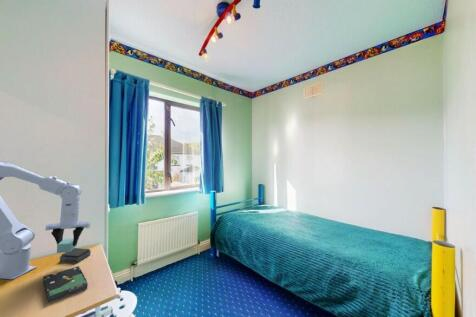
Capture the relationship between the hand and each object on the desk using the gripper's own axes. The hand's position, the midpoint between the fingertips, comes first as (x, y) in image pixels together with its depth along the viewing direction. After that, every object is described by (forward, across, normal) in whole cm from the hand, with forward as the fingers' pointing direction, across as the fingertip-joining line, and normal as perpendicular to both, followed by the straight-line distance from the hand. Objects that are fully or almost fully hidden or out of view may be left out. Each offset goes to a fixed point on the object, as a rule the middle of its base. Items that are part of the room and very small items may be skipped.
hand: (67, 245), depth 81 cm
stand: (+8, +1, +6) cm, 11 cm away
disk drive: (+9, +5, -15) cm, 18 cm away
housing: (+1, 0, 0) cm, 1 cm away
